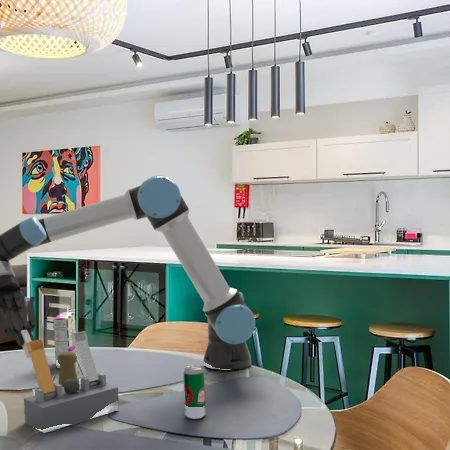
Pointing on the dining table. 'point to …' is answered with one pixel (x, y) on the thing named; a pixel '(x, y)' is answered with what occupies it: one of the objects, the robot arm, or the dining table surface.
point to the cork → (67, 367)
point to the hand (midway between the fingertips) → (31, 354)
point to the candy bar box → (64, 332)
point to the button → (71, 385)
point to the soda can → (194, 386)
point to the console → (69, 404)
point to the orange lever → (41, 368)
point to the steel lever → (85, 357)
